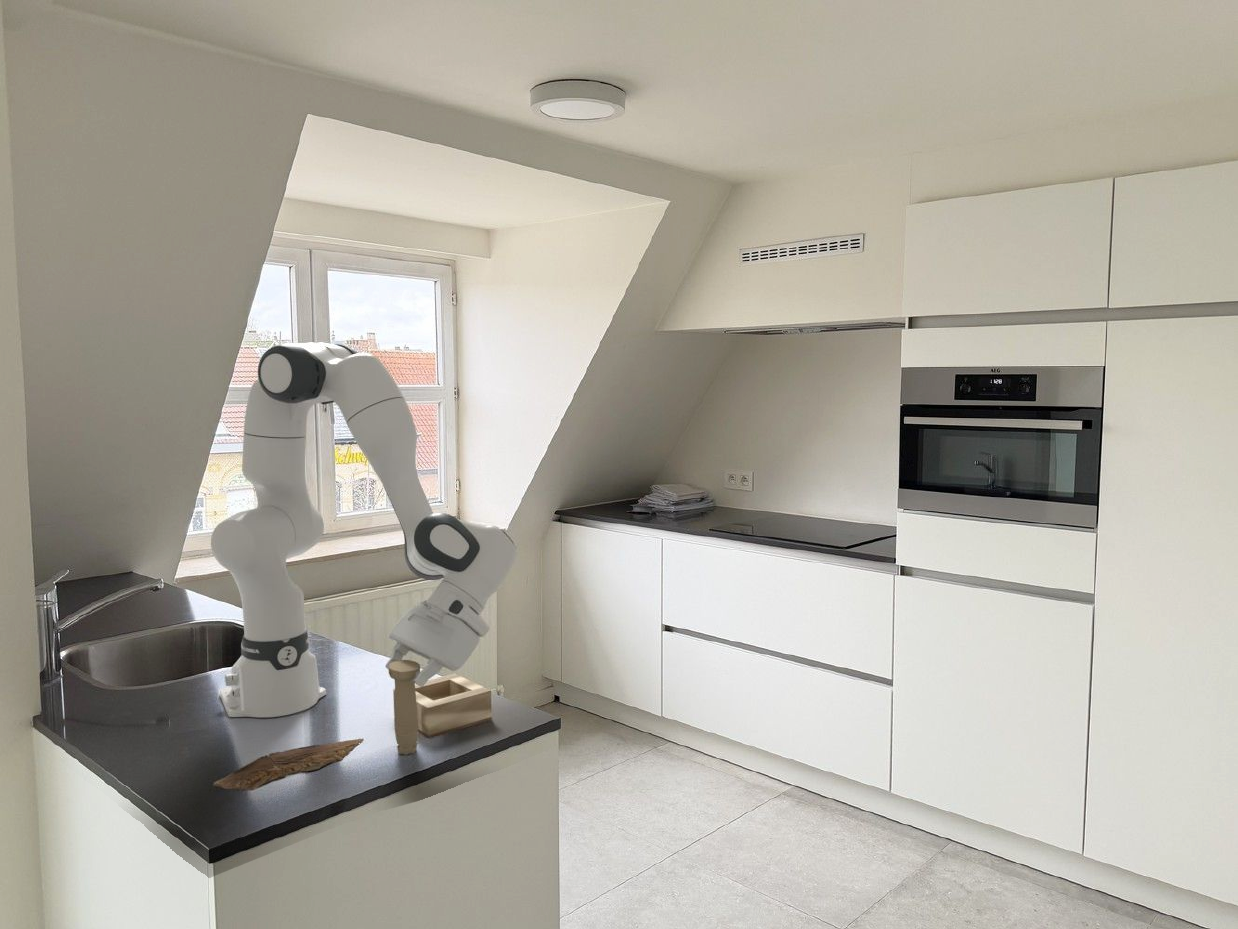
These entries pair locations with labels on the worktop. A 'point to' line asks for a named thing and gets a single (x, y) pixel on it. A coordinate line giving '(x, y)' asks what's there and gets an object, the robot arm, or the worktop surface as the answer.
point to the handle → (405, 705)
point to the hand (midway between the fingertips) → (402, 677)
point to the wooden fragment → (286, 764)
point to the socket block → (450, 705)
